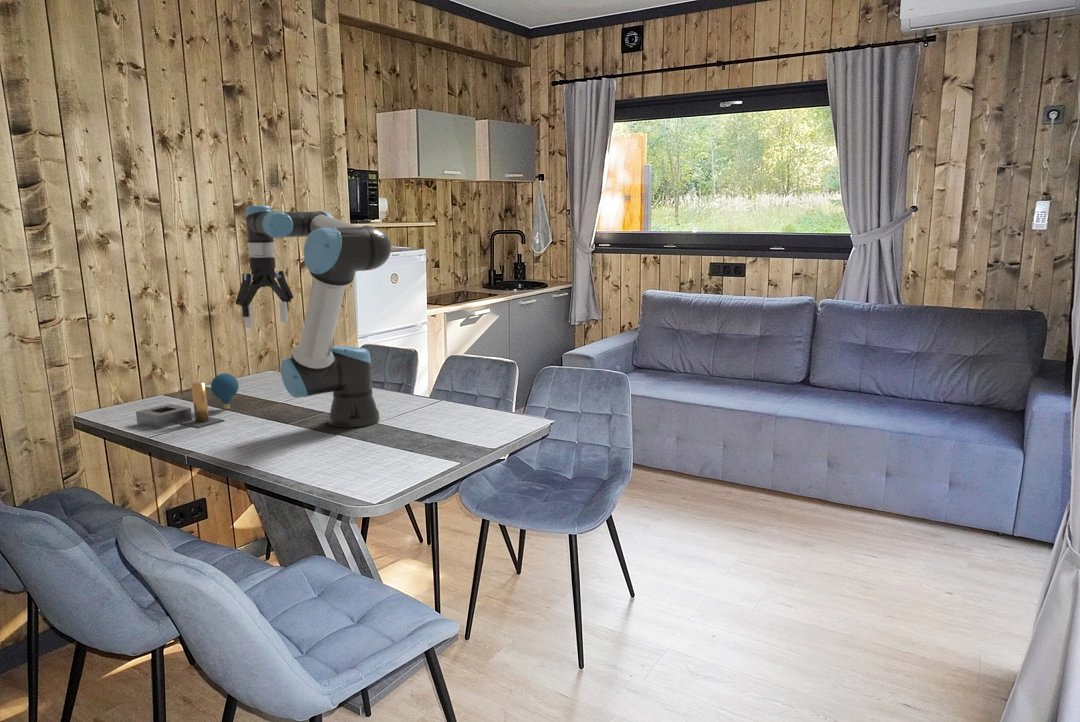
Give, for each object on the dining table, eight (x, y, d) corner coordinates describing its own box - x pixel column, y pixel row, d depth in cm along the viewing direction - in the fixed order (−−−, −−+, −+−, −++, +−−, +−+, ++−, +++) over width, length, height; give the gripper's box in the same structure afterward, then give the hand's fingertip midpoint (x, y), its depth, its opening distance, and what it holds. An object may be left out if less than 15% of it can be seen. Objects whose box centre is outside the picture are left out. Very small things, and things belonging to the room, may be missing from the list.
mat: (224, 421, 234) (224, 419, 234) (198, 428, 227) (198, 426, 227) (206, 417, 239) (205, 416, 239) (180, 424, 231) (179, 422, 231)
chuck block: (192, 420, 235) (191, 408, 235) (159, 429, 226) (157, 416, 225) (170, 416, 241) (169, 403, 240) (137, 424, 231) (135, 411, 231)
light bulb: (222, 413, 243) (218, 377, 241) (208, 410, 248) (204, 374, 246) (245, 408, 250) (242, 372, 247) (231, 405, 255) (228, 370, 252)
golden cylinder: (203, 419, 235) (199, 381, 233) (211, 420, 233) (207, 382, 231) (192, 421, 232) (188, 383, 230) (200, 423, 230) (196, 384, 228)
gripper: (285, 254, 246) (290, 319, 250) (219, 258, 225) (225, 328, 229) (301, 254, 243) (306, 320, 247) (235, 258, 221) (241, 330, 225)
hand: (267, 324), depth 238 cm, fingers open, 13 cm apart
